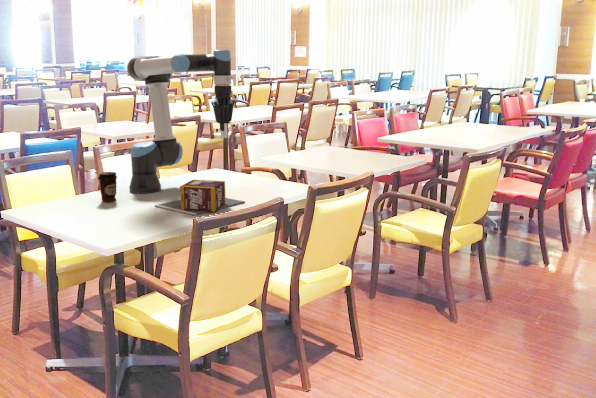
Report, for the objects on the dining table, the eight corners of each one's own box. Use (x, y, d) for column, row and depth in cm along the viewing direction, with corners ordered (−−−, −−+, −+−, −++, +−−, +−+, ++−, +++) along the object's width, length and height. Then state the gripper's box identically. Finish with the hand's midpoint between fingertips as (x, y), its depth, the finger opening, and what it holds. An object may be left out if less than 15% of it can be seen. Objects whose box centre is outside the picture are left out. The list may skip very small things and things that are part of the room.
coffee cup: (123, 200, 297) (121, 172, 294) (110, 203, 290) (108, 175, 287) (108, 198, 301) (106, 170, 298) (95, 202, 293) (93, 173, 290)
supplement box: (226, 203, 287) (214, 212, 272) (193, 201, 290) (180, 210, 275) (225, 180, 285) (214, 188, 270) (192, 179, 288) (179, 186, 273)
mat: (154, 206, 284) (154, 205, 284) (205, 195, 307) (205, 193, 307) (194, 215, 268) (194, 214, 268) (244, 202, 291) (244, 201, 291)
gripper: (218, 86, 281) (219, 139, 286) (239, 84, 291) (240, 136, 296) (206, 85, 286) (208, 138, 291) (227, 84, 295) (228, 135, 301)
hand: (224, 137), depth 293 cm, fingers closed
